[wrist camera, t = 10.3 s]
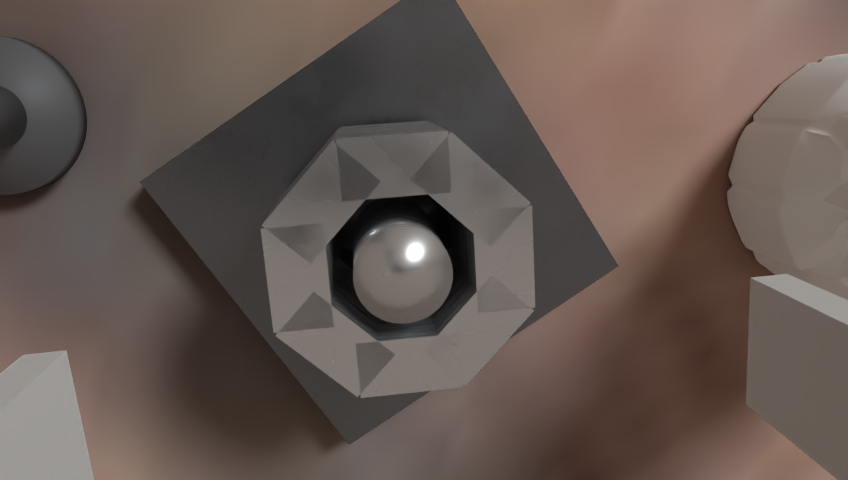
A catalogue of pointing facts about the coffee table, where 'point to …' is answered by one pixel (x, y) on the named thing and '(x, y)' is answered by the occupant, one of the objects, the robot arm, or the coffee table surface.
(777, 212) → the decorative vase
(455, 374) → the grey octagonal holder
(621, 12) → the coffee table surface
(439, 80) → the square peg base
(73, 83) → the stand
